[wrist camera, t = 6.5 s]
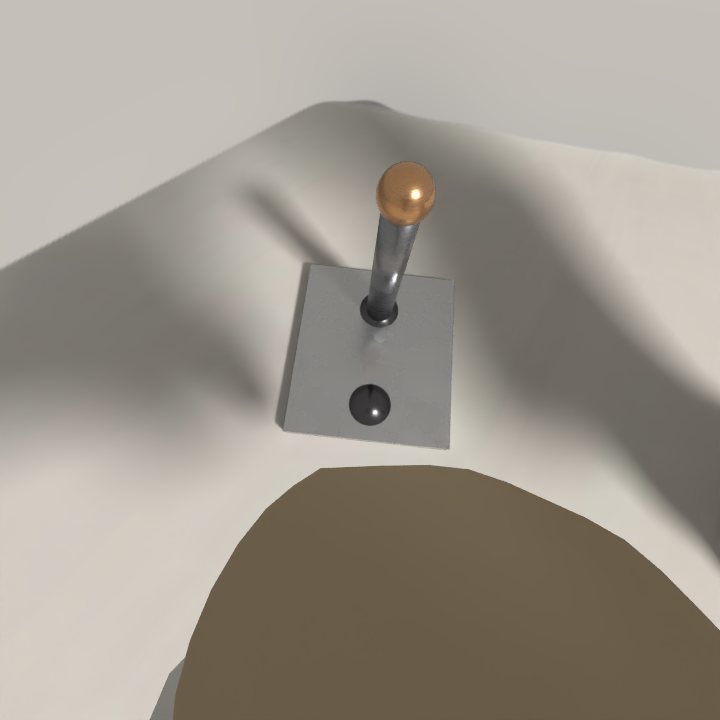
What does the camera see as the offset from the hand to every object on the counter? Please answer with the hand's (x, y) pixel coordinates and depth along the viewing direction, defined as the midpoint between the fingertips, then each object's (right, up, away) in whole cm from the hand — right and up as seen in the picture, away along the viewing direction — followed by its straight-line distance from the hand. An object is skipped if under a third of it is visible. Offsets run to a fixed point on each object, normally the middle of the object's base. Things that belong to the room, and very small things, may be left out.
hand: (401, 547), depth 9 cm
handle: (0, -3, +9) cm, 9 cm away
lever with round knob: (+1, +10, +24) cm, 26 cm away
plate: (0, +6, +24) cm, 24 cm away
